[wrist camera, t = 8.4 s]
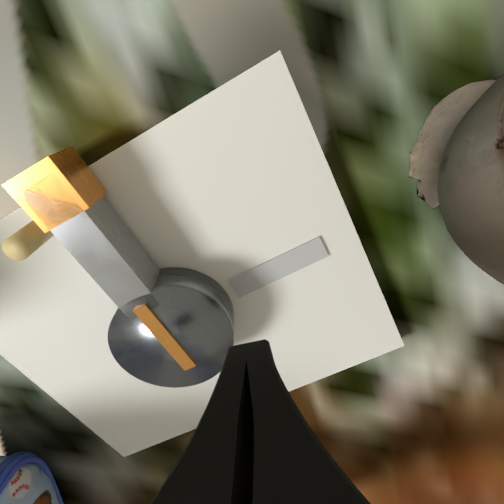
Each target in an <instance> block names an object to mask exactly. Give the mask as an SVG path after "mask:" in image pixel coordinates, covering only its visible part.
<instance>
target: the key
mask: <svg viewBox="0 0 504 504" xmlns="http://www.w3.org/2000/svg"><path fill="white" fill-rule="evenodd" d="M2 186H3V187H4V188H5V190H6V191H7V192H8V193H9V194H10V195H11V196H12V197H13V198H14V199H15V201H16V202H17V203H18V204H19V205H20V206H21V207H22V208H23V210H24V211H25V212H26V213H27V214H28V215H29V216H30V217H31V218H32V219H33V221H34V222H35V223H36V224H37V225H38V226H39V227H40V228H41V229H42V231H43V232H44V233H46V232H48V231H51V232H52V233H53V234H54V236H55V237H56V238H57V239H58V240H59V241H60V242H61V243H62V245H63V246H64V247H65V248H66V249H67V250H68V251H69V252H70V254H71V255H72V256H73V257H74V258H75V259H76V260H77V261H78V263H79V264H80V265H81V266H82V267H83V268H84V269H85V270H86V272H87V273H88V274H89V275H90V276H91V277H92V278H93V279H94V281H95V282H96V283H97V284H98V285H99V286H100V287H101V288H102V289H103V291H104V292H105V293H106V294H107V295H108V296H109V297H110V298H111V300H112V301H113V302H114V303H115V304H116V305H117V306H118V309H117V310H116V312H115V314H114V316H113V318H112V320H111V323H110V325H109V329H108V344H109V348H110V351H111V353H112V355H113V357H114V358H115V360H116V361H117V363H118V364H119V365H120V366H121V367H122V368H123V369H124V370H125V371H126V372H128V373H129V374H131V375H132V376H134V377H136V378H137V379H139V380H142V381H144V382H146V383H149V384H152V385H157V386H161V387H172V388H178V387H188V386H193V385H197V384H200V383H203V382H205V381H207V380H209V379H211V378H213V377H214V376H216V375H217V374H218V373H219V372H221V369H222V366H223V364H224V361H225V357H226V354H227V351H228V349H229V347H230V346H233V345H234V310H233V305H232V302H231V300H230V297H229V296H228V294H227V292H226V291H225V290H224V289H223V287H222V286H221V285H220V284H219V283H218V282H216V281H215V280H214V279H212V278H211V277H209V276H207V275H205V274H203V273H201V272H198V271H195V270H192V269H187V268H180V267H167V268H161V269H159V268H158V266H157V265H156V264H155V262H154V261H153V260H152V258H151V257H150V256H149V254H148V253H147V252H146V251H145V249H144V248H143V247H142V245H141V244H140V243H139V241H138V240H137V239H136V237H135V236H134V235H133V234H132V232H131V231H130V230H129V228H128V227H127V226H126V224H125V223H124V222H123V220H122V219H121V218H120V217H119V215H118V214H117V213H116V211H115V210H114V209H113V207H112V206H111V205H110V204H109V202H108V201H107V200H106V198H105V197H104V195H105V194H106V193H107V191H106V189H105V188H104V187H103V185H102V184H101V183H100V182H99V180H98V179H97V178H96V176H95V175H94V174H93V172H92V171H91V170H90V168H89V167H88V166H87V164H86V163H85V162H84V160H83V159H82V158H81V156H80V155H79V154H78V152H77V151H76V150H75V148H74V147H73V146H72V147H69V148H67V149H65V150H62V151H60V152H57V153H55V154H52V155H50V156H48V157H46V158H44V159H43V160H41V161H40V162H38V163H36V164H35V165H33V166H31V167H30V168H28V169H27V170H25V171H24V172H22V173H20V174H19V175H17V176H16V177H14V178H12V179H11V180H9V181H7V182H6V183H4V184H3V185H2Z"/></svg>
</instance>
